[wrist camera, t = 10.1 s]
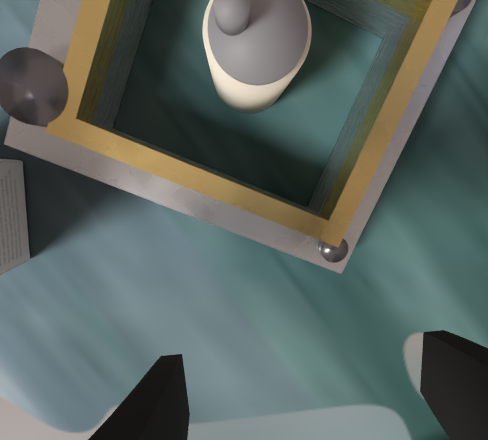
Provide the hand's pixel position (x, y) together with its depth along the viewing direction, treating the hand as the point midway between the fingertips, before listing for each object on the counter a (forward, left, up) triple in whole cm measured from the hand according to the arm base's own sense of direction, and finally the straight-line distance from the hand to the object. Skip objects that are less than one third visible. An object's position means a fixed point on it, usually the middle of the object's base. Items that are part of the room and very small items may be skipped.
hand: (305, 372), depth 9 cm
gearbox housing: (+5, -9, -10) cm, 14 cm away
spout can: (+5, -10, -10) cm, 15 cm away
